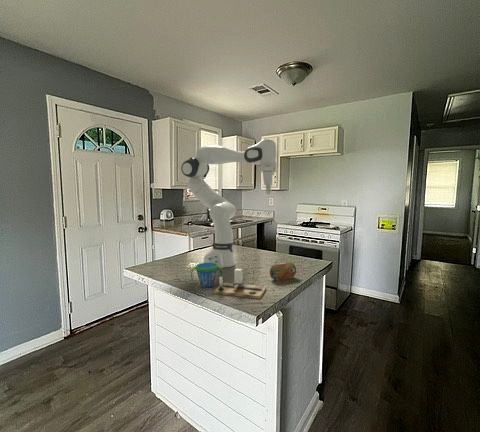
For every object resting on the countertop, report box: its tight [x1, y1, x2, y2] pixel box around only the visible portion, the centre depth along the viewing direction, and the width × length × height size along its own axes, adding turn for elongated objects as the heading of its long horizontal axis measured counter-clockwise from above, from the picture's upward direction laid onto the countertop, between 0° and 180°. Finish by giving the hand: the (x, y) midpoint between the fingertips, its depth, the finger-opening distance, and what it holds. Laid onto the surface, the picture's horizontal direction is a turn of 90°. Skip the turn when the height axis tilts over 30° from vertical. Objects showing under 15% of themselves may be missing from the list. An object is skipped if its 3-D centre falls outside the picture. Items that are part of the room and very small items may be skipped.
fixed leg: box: [218, 276, 224, 290], centre depth 123 cm, size 2×2×6 cm
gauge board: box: [212, 281, 267, 300], centre depth 124 cm, size 22×12×2 cm, turn 72°
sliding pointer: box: [232, 268, 245, 291], centre depth 123 cm, size 4×7×8 cm, turn 162°
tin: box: [269, 262, 297, 282], centre depth 140 cm, size 15×3×8 cm, turn 114°
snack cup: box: [190, 262, 224, 289], centre depth 132 cm, size 16×10×10 cm
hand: (268, 193), depth 152 cm, fingers open, 8 cm apart
